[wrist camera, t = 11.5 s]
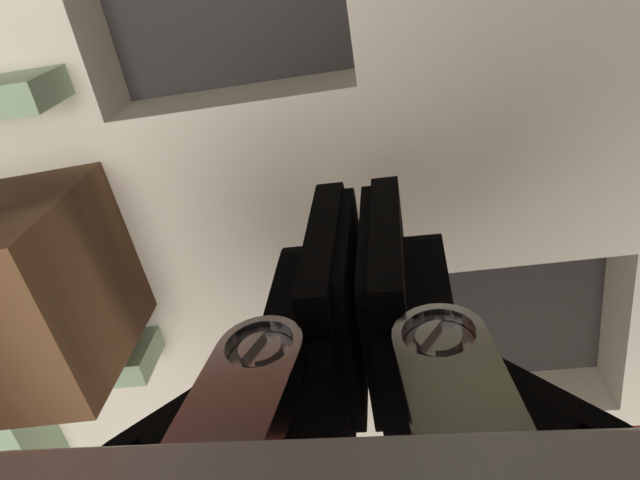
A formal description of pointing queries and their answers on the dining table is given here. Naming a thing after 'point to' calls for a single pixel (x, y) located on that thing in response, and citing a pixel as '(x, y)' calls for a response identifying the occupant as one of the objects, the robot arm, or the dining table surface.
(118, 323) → the walnut block
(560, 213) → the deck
